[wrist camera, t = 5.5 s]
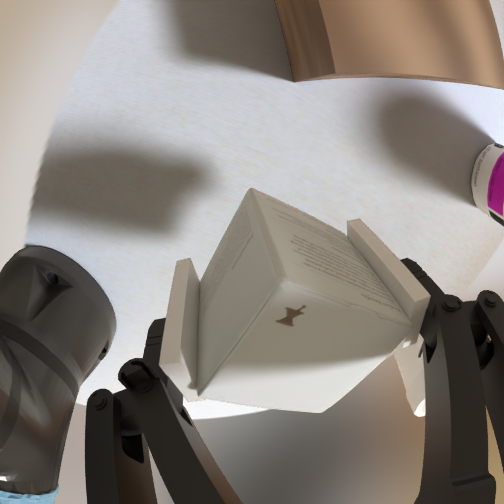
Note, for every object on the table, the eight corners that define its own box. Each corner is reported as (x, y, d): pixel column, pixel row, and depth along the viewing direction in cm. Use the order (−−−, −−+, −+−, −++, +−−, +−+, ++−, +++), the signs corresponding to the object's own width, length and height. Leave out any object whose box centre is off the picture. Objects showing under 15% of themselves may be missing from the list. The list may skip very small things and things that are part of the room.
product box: (197, 280, 15) (190, 399, 9) (249, 182, 13) (281, 275, 6) (290, 312, 17) (321, 415, 11) (348, 233, 15) (420, 327, 8)
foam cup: (427, 314, 31) (475, 387, 20) (367, 340, 32) (407, 426, 21) (436, 257, 26) (506, 335, 15) (366, 284, 27) (426, 386, 16)
